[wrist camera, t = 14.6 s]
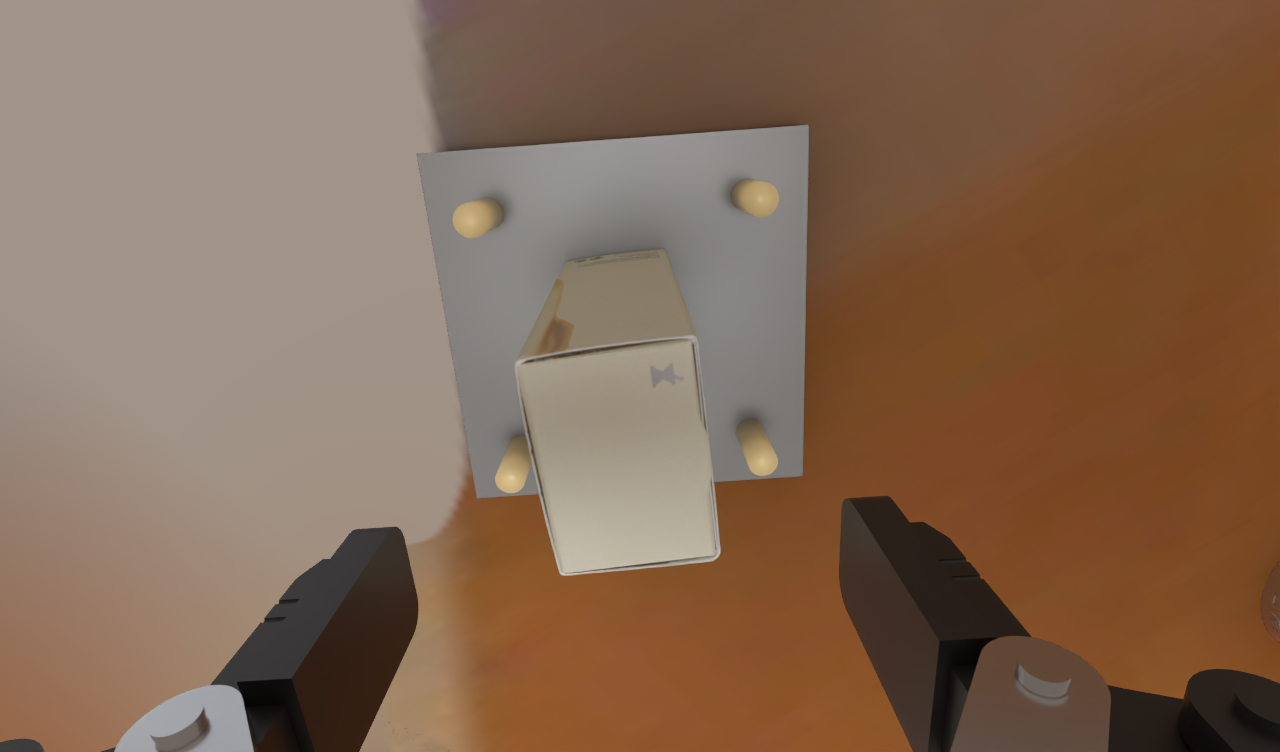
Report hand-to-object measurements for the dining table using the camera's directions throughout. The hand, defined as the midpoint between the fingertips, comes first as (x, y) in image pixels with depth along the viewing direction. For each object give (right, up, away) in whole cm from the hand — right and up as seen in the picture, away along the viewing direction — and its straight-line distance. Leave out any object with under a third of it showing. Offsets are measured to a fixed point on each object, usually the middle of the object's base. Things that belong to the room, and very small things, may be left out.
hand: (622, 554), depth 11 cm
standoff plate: (0, +6, +16) cm, 17 cm away
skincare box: (0, +5, +15) cm, 16 cm away
